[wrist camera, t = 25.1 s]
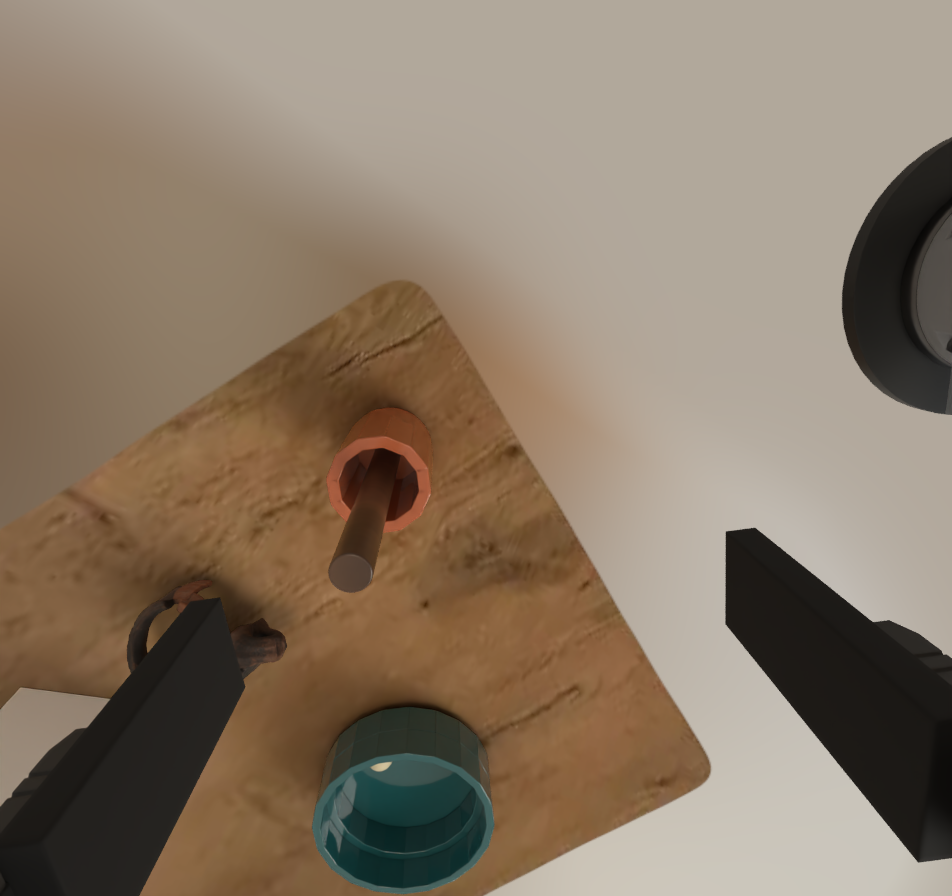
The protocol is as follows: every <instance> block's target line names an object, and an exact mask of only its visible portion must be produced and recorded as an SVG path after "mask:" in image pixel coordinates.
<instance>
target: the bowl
mask: <svg viewBox="0 0 952 896" xmlns="http://www.w3.org/2000/svg"><path fill="white" fill-rule="evenodd" d="M387 762H392V763H391V765H390V766H389V767H388V768H387V769H386V770H384V771H374V770H373V769H371V768H370V767H372V766H374V765H376V764H379V763H387ZM494 825H495V824H494V814H493V804H492V794H491V784H490V774H489V766H488V757H487V753H486V751H485V750H484V748H483V746H482V744H481V742H480V741H479V739H478V737H477V736H476V735H475V734H474V733H473V732H472V731H471V730H470V729H468V728H467V727H466V726H465V725H464V724H463V723H462V722H460V721H459V720H457V719H455V718H453V717H450V716H448V715H446V714H443V713H441V712H439V711H436V710H431V709H423V708H416V707H402V708H395V709H387V710H381V711H379V712H377V713H374V714H372V715H369V716H367V717H365V718H362V719H360V720H358V721H357V722H356V723H354V724H353V725H352V726H351V727H350V728H348V729H347V730H346V731H345V732H344V733H342V734H341V735H340V736H339V738H338V739H337V741H336V742H335V744H334V746H333V747H332V749H331V751H330V752H329V754H328V756H327V760H326V765H325V769H324V773H323V777H322V781H321V786H320V790H319V794H318V798H317V802H316V807H315V812H314V818H313V824H312V830H313V834H314V838H315V842H316V846H317V849H318V851H319V853H320V854H321V856H322V857H323V858H324V860H325V861H326V863H327V864H328V865H329V867H330V868H331V869H332V870H333V871H335V872H336V873H338V874H339V875H340V876H342V877H343V878H345V879H346V880H347V881H349V882H350V883H352V884H355V885H358V886H361V887H364V888H366V889H369V890H372V891H376V892H385V893H396V894H409V893H416V892H423V891H429V890H432V889H435V888H437V887H440V886H442V885H445V884H447V883H450V882H452V881H454V880H456V879H457V878H459V877H460V876H461V875H463V874H464V873H466V872H467V871H468V870H470V869H471V868H472V867H474V865H476V863H477V862H478V860H479V859H480V858H481V856H482V855H483V854H484V852H485V851H486V849H487V848H488V846H489V843H490V840H491V836H492V833H493V829H494Z"/></svg>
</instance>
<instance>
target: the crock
mask: <svg viewBox="0 0 952 896" xmlns="http://www.w3.org/2000/svg"><path fill="white" fill-rule="evenodd" d="M378 448H385V449H388V450H390V451H393V452H395V453H398V454H400V455H401V457H400V461H399V465H398V470H397V474H396V478H395V482H394V487H393V491H392V495H391V500H390V504H389V508H388V513H387V517H386V521H385V526H384V530H383V533H384V532H392V531H399V530H401V529H403V528H404V527H406V526H407V525H408V524H410V523H411V522H413V521H414V520H415V519H417V518H418V517H420V515H421V514H422V512H423V510H424V508H425V506H426V503H427V501H428V499H429V497H430V494H431V485H432V464H433V452H432V442H431V436H430V434H429V432H428V430H427V428H426V427H425V425H424V424H423V423H422V421H421V420H420V419H418V418H417V417H416V416H415V415H413V414H412V413H410V412H408V411H406V410H403V409H399V408H392V407H387V408H380V409H376V410H373V411H371V412H369V413H368V414H366V415H364V416H363V417H362V418H361V419H360V420H359V421H358V422H356V423H355V424H354V426H353V427H352V429H351V431H350V432H349V434H348V436H347V437H346V439H345V441H344V442H343V444H342V445H341V447H340V449H339V450H338V452H337V454H336V455H335V457H334V460H333V462H332V465H331V467H330V470H329V473H328V475H327V479H326V482H327V487H328V492H329V498H330V503H331V505H332V507H333V508H334V509H335V510H336V511H337V512H338V513H339V515H340V516H341V517H342V518H343V519H344V520H345V521H346V522H347V520H348V518H349V515H350V513H351V510H352V507H353V505H354V502H355V500H356V497H357V495H358V492H359V490H360V487H361V485H362V482H363V479H364V477H365V474H366V472H367V469H368V467H369V464H370V462H371V459H372V457H373V454H374V451H375V449H378Z"/></svg>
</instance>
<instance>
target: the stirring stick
mask: <svg viewBox="0 0 952 896" xmlns="http://www.w3.org/2000/svg"><path fill="white" fill-rule="evenodd" d="M400 457H401V455H400V454H398V453H395V452H393V451H390V450H388V449H385V448H378V449H375V451H374V454H373V457H372V459H371V462H370V464H369V467H368V469H367V472H366V474H365V477H364V479H363V482H362V485H361V487H360V490H359V492H358V495H357V497H356V500H355V502H354V505H353V507H352V510H351V513H350V515H349V518H348V520H347V523H346V525H345V528H344V530H343V533H342V535H341V538H340V541H339V543H338V546H337V548H336V551H335V553H334V556H333V558H332V561H331V563H330V566H329V572H328V573H329V578H330V580H331V582H332V584H333V585H334V586H335V587H336V588H338V589H339V590H341V591H344V592H349V593H353V592H358V591H361V590H363V589H364V588H366V587H367V586H368V585H369V584H370V582H371V580H372V577H373V573H374V569H375V564H376V560H377V556H378V552H379V547H380V543H381V539H382V534H383V530H384V526H385V521H386V517H387V513H388V508H389V504H390V500H391V495H392V491H393V487H394V482H395V478H396V474H397V470H398V465H399V461H400Z"/></svg>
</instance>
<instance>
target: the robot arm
mask: <svg viewBox="0 0 952 896" xmlns="http://www.w3.org/2000/svg"><path fill="white" fill-rule="evenodd" d="M901 310H902V316H903V320H904V324H905V327H906V330H907V332H908V334H909V336H910V338H911V340H912V341H913V343H914V344H915V345H916V347H917V348H918V349H919V350H920V351H921V352H922V353H923V354H924V355H925V356H926V357H928V358H929V359H930V360H932V361H934V362H935V363H937V364H939V365H942V366H944V367H947V368H951V369H952V199H951V200H950V201H948V202H947V203H946V204H945V205H944V206H943V207H942V208H941V209H940V210H939V211H938V212H937V213H936V214H935V215H934V216H933V217H932V218H931V220H930V221H929V222H928V223H927V225H926V226H925V227H924V229H923V230H922V232H921V234H920V235H919V237H918V238H917V240H916V242H915V244H914V246H913V248H912V250H911V252H910V255H909V257H908V260H907V263H906V266H905V269H904V274H903V278H902V285H901ZM726 625H727V626H728V628H729V629H730V630H731V631H732V633H733V634H734V635H735V636H736V638H737V639H738V640H739V641H740V642H741V644H742V645H743V646H744V648H745V649H746V650H747V651H748V652H749V654H750V655H751V656H752V657H753V659H754V660H755V661H756V662H757V664H758V665H759V666H760V667H761V668H762V670H763V671H764V672H765V673H766V675H767V676H768V677H769V678H770V679H771V681H772V682H773V683H774V684H775V686H776V687H777V688H778V690H779V691H780V692H781V693H782V695H783V696H784V697H785V698H786V699H787V701H788V702H789V703H790V704H791V706H792V707H793V708H794V709H795V711H796V712H797V713H798V714H799V716H800V717H801V718H802V719H803V721H804V722H805V723H806V724H807V725H808V727H809V728H810V729H811V730H812V732H813V733H814V734H815V735H816V736H817V738H818V739H819V740H820V741H821V743H822V744H823V745H824V747H825V748H826V749H827V750H828V751H829V752H830V754H831V755H832V756H833V758H834V759H835V760H836V761H837V763H838V764H839V765H840V766H841V767H842V768H843V770H844V771H845V773H847V775H848V776H849V777H850V779H851V780H852V781H853V782H854V784H855V785H856V786H857V787H858V789H859V790H860V791H861V792H862V794H863V795H864V796H865V797H866V799H867V800H868V801H869V802H870V803H871V805H872V806H873V807H874V808H875V810H876V811H877V812H878V813H879V815H880V816H881V817H882V818H883V820H884V821H885V822H886V823H887V824H888V826H889V827H890V828H891V829H892V831H893V832H894V833H895V834H896V835H897V837H898V838H899V839H900V841H901V842H902V843H903V844H904V846H905V847H906V848H907V849H908V850H909V852H910V853H911V854H912V855H913V857H914V858H915V859H916V860H917V862H926V861H933V860H941V859H948V858H952V658H950V657H949V656H948V655H943V653H942V651H941V650H940V649H938V648H937V647H936V646H934V645H933V644H932V643H930V642H929V641H928V640H926V639H925V638H924V637H922V636H921V635H920V634H918V633H916V632H914V631H912V630H909V629H907V628H905V627H903V626H901V625H898V624H896V623H894V622H892V621H890V620H887V621H880V622H872V621H871V620H869V619H868V618H867V617H866V616H864V615H863V614H862V613H861V612H859V611H858V610H857V609H856V608H854V607H853V606H852V605H851V604H850V603H848V602H847V601H846V600H845V599H843V598H842V597H840V595H838V594H837V593H836V592H835V591H833V590H832V589H831V588H829V587H828V586H827V585H826V584H824V583H823V582H822V581H821V580H820V579H818V578H817V577H816V576H815V575H813V574H812V573H811V572H810V571H808V570H807V569H806V568H805V567H803V566H802V565H801V564H800V563H798V562H797V561H796V560H795V559H793V558H792V557H791V556H790V555H788V554H787V553H786V552H785V551H783V550H782V549H781V548H780V547H778V546H777V545H776V544H775V543H773V542H772V541H771V540H770V539H768V538H767V537H766V536H765V535H763V534H762V533H761V532H760V531H758V530H757V529H756V528H751V529H742V530H735V531H727V532H726ZM244 689H245V684H244V681H243V677H242V674H241V670H240V666H239V663H238V659H237V656H236V652H235V649H234V645H233V641H232V638H231V634H230V631H229V627H228V624H227V620H226V617H225V613H224V609H223V606H222V602H221V599H220V598H212V599H204V600H197V601H190V602H189V604H188V605H187V606H186V607H185V609H184V610H183V611H182V612H181V613H180V615H179V616H178V617H177V618H176V620H175V621H174V622H173V623H172V624H171V626H170V627H169V628H168V629H167V631H166V632H165V633H164V634H163V635H162V637H161V638H160V639H159V640H158V642H157V643H156V644H155V645H154V646H153V648H152V649H151V650H150V651H149V653H148V654H147V655H146V656H145V657H144V659H143V660H142V661H141V662H140V664H139V665H138V666H137V667H136V668H135V670H134V671H133V672H132V673H131V674H130V676H129V677H128V678H127V679H126V681H125V682H124V683H123V684H122V685H121V687H120V688H119V689H118V690H117V692H116V693H115V694H114V695H113V696H112V698H111V699H110V700H109V701H108V703H107V704H106V705H105V706H104V707H103V709H102V710H101V711H100V712H99V714H98V715H97V716H96V717H95V718H94V720H93V721H92V722H91V723H90V725H89V726H88V727H87V728H80V729H75V730H74V731H73V732H71V733H70V734H69V735H68V736H66V737H65V738H64V739H63V740H61V741H60V742H59V743H57V744H56V745H55V746H54V747H52V748H51V749H50V750H48V752H47V753H46V754H45V755H44V756H43V757H42V759H41V760H40V761H39V762H38V763H37V764H36V766H35V767H34V768H33V769H32V770H31V771H30V773H29V776H28V778H24V780H23V781H22V782H21V783H20V784H19V785H18V786H17V788H16V789H15V790H14V791H13V792H12V797H11V798H7V799H6V800H5V802H4V803H3V804H2V805H1V806H0V896H139V895H140V893H141V891H142V889H143V887H144V885H145V883H146V881H147V879H148V877H149V875H150V873H151V871H152V870H153V868H154V866H155V864H156V862H157V860H158V858H159V856H160V854H161V852H162V850H163V848H164V846H165V844H166V842H167V840H168V838H169V836H170V834H171V832H172V830H173V828H174V826H175V824H176V822H177V820H178V818H179V816H180V814H181V813H182V811H183V809H184V807H185V805H186V803H187V801H188V799H189V797H190V795H191V793H192V791H193V789H194V787H195V785H196V783H197V781H198V779H199V777H200V775H201V773H202V771H203V769H204V767H205V765H206V763H207V761H208V759H209V757H210V756H211V754H212V752H213V750H214V748H215V746H216V744H217V742H218V740H219V738H220V736H221V734H222V732H223V730H224V728H225V726H226V724H227V722H228V720H229V718H230V716H231V714H232V712H233V710H234V708H235V706H236V704H237V702H238V700H239V699H240V697H241V695H242V693H243V691H244Z"/></svg>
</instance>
